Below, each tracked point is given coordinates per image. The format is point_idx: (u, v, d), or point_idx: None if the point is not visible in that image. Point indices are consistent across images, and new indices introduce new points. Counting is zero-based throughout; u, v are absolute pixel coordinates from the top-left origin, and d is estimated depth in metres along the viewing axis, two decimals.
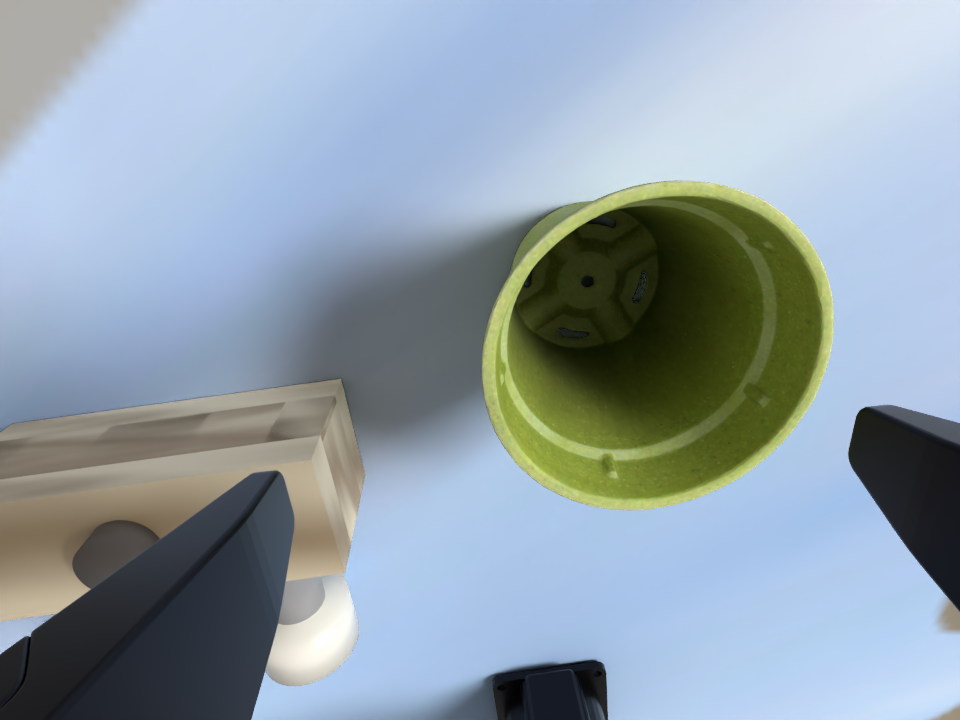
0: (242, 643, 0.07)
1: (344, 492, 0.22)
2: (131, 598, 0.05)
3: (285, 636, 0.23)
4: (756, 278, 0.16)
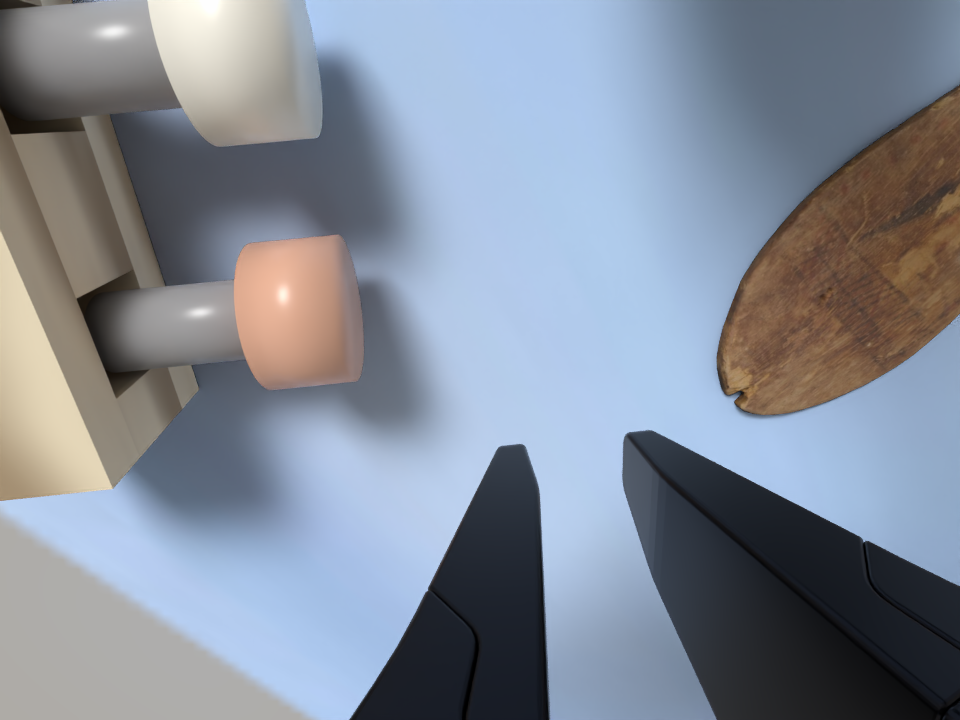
0: None
1: None
2: (503, 556, 0.06)
3: None
4: None
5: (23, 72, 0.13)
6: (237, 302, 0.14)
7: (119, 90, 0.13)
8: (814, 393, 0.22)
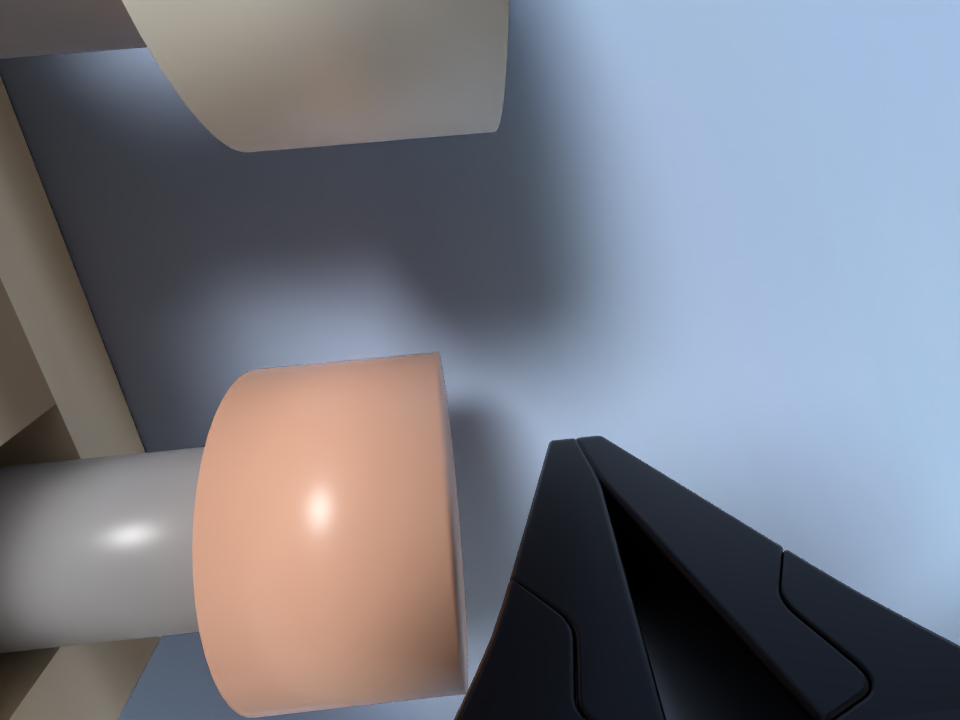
0: None
1: None
2: (580, 547, 0.06)
3: None
4: None
5: None
6: (201, 572, 0.05)
7: None
8: None
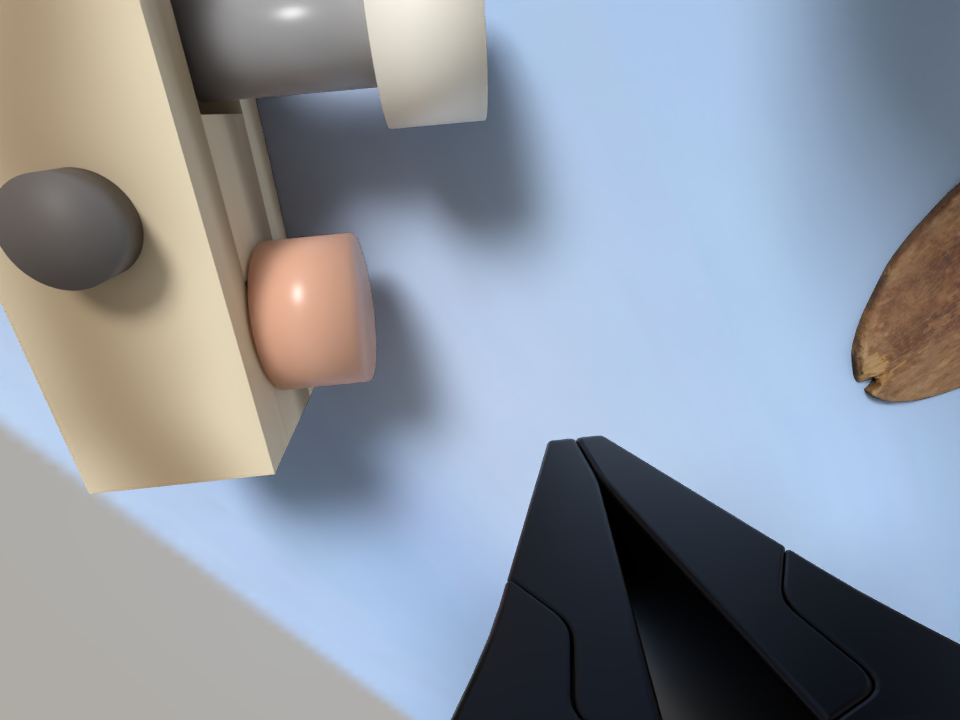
0: None
1: None
2: (578, 548, 0.06)
3: None
4: None
5: (216, 51, 0.13)
6: (251, 301, 0.14)
7: (306, 70, 0.13)
8: (946, 380, 0.22)
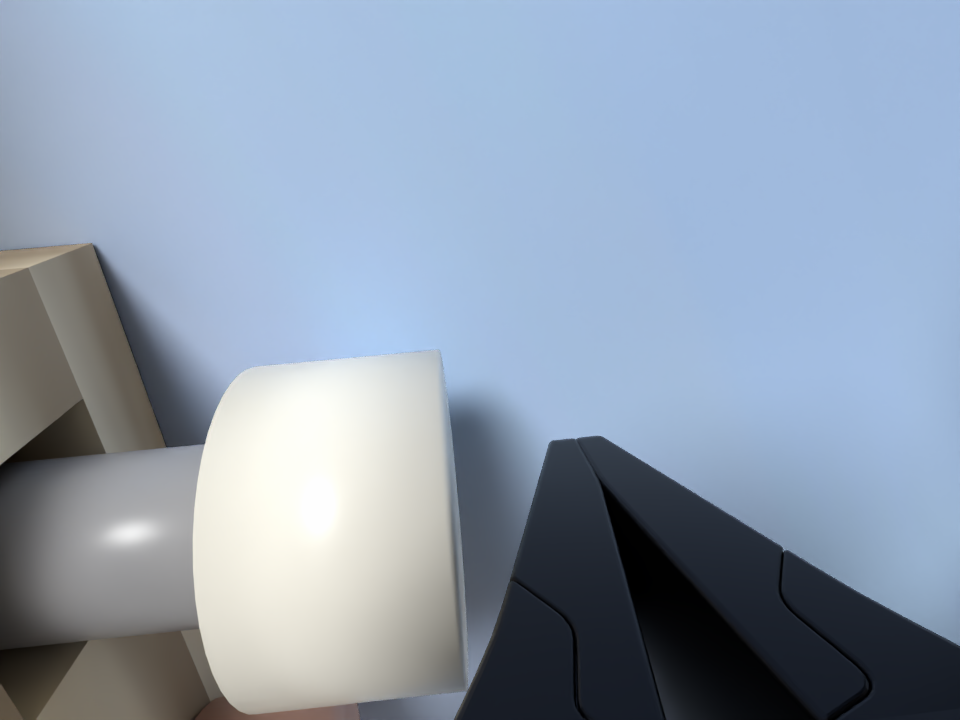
0: None
1: None
2: (580, 547, 0.06)
3: None
4: None
5: None
6: None
7: (131, 634, 0.07)
8: None
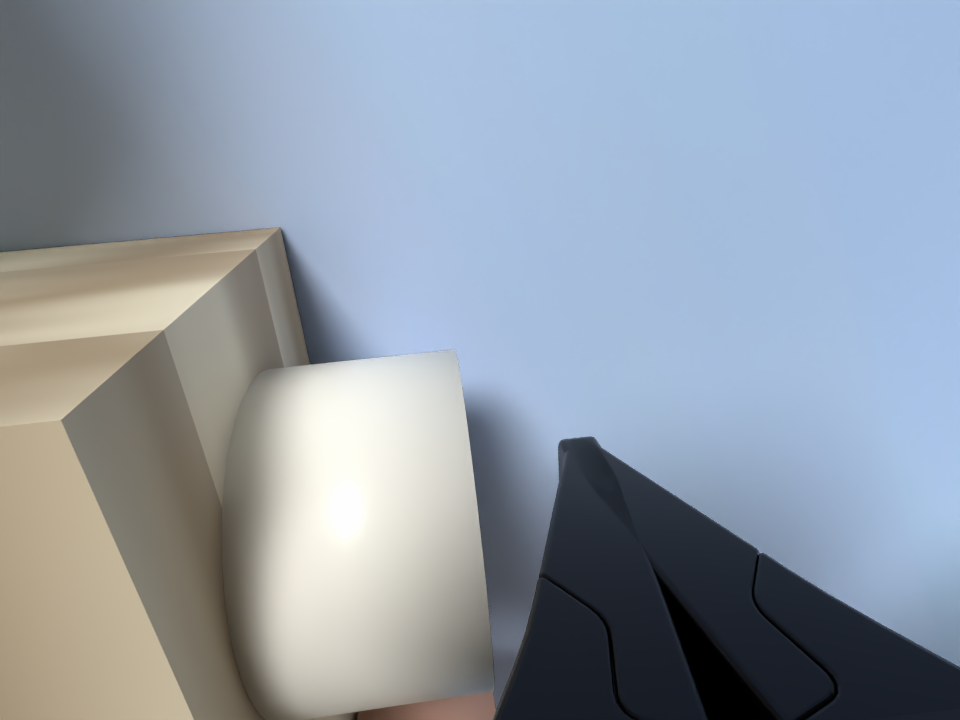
0: None
1: (10, 315, 0.05)
2: (607, 544, 0.06)
3: None
4: None
5: None
6: None
7: None
8: None
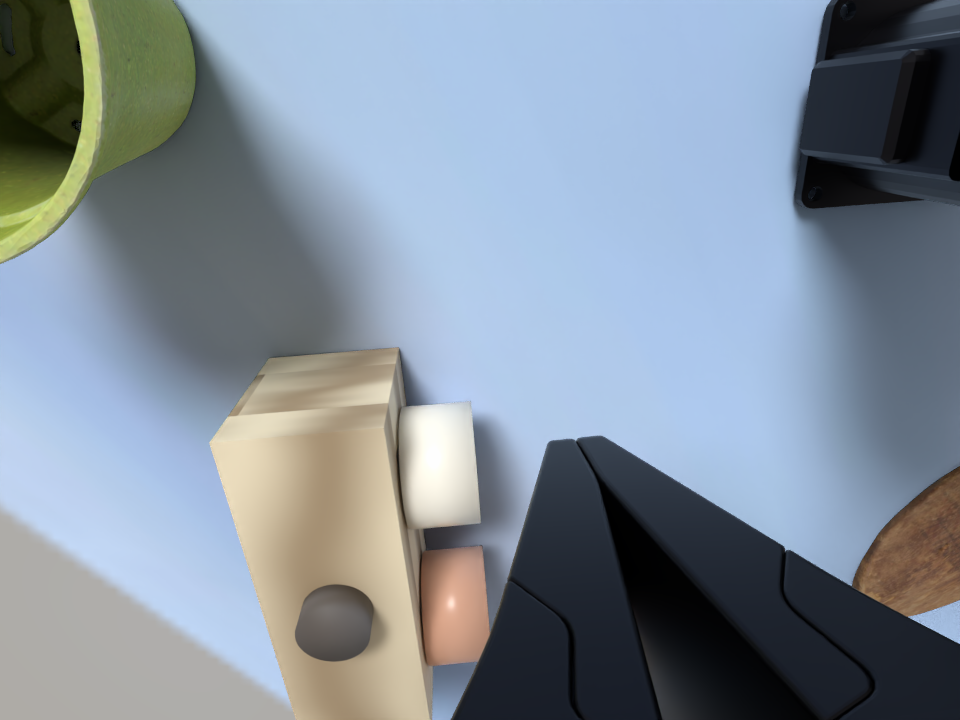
0: None
1: (336, 394, 0.18)
2: (578, 547, 0.06)
3: None
4: None
5: None
6: (424, 625, 0.21)
7: None
8: (924, 606, 0.29)
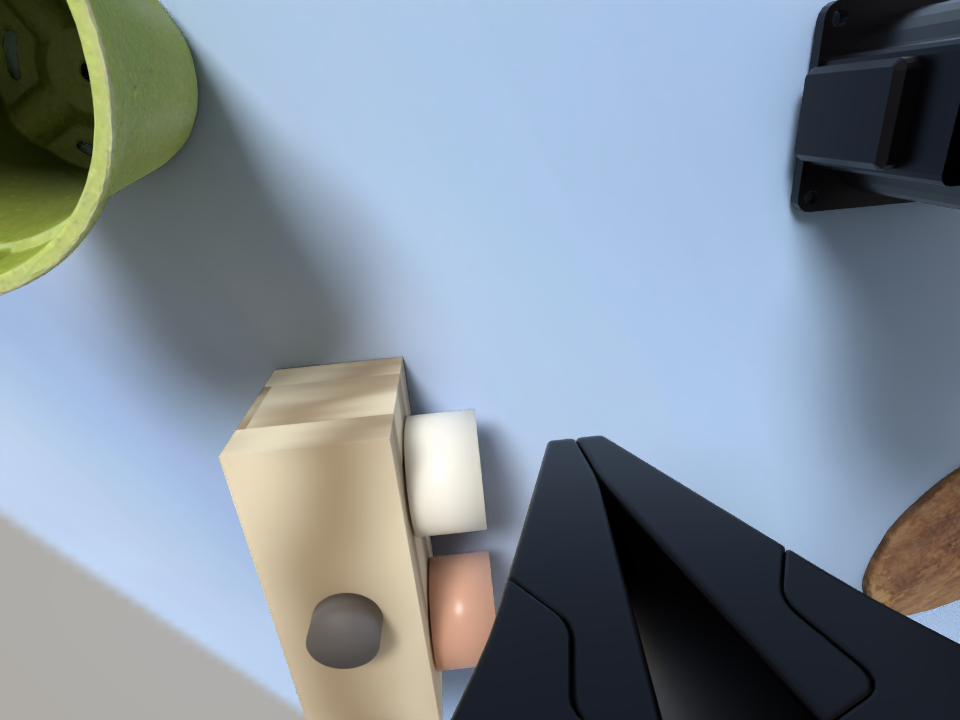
0: None
1: (341, 405, 0.18)
2: (578, 548, 0.06)
3: None
4: None
5: None
6: (433, 631, 0.21)
7: None
8: (935, 602, 0.29)
